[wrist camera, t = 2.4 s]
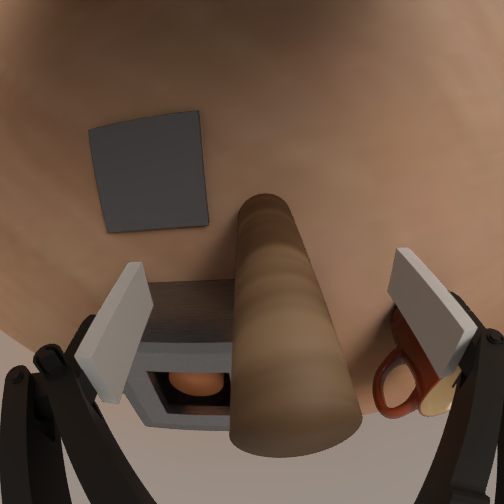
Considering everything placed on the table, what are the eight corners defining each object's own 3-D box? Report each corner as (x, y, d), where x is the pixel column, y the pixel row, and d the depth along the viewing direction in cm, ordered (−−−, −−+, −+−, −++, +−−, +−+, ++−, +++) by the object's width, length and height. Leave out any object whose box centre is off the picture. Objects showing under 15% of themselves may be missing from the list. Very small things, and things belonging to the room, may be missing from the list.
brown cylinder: (236, 195, 20) (221, 405, 6) (291, 192, 20) (377, 389, 6) (240, 244, 22) (235, 460, 8) (291, 241, 22) (347, 449, 8)
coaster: (92, 129, 17) (88, 130, 17) (198, 110, 17) (197, 110, 17) (110, 229, 21) (107, 232, 21) (209, 221, 21) (208, 225, 21)
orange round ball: (169, 336, 23) (162, 363, 21) (222, 336, 23) (219, 363, 20) (180, 369, 25) (175, 395, 23) (227, 369, 25) (226, 396, 23)
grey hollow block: (125, 283, 24) (95, 339, 17) (266, 277, 24) (273, 340, 17) (158, 373, 29) (145, 426, 23) (268, 372, 29) (272, 429, 23)
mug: (444, 255, 23) (508, 325, 14) (456, 311, 27) (502, 375, 17) (338, 322, 26) (369, 414, 17) (368, 366, 30) (395, 442, 21)
